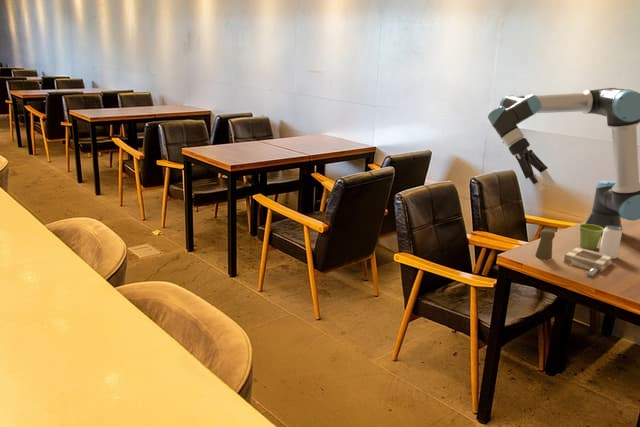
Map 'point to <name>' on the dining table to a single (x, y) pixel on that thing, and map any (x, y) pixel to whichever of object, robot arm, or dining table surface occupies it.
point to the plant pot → (590, 235)
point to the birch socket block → (588, 259)
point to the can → (610, 241)
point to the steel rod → (592, 271)
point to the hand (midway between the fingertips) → (547, 187)
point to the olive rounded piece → (545, 244)
